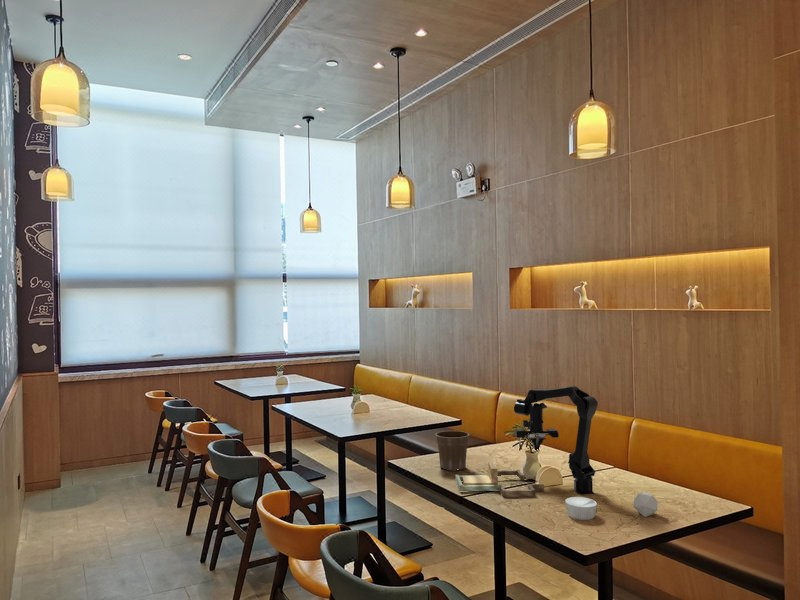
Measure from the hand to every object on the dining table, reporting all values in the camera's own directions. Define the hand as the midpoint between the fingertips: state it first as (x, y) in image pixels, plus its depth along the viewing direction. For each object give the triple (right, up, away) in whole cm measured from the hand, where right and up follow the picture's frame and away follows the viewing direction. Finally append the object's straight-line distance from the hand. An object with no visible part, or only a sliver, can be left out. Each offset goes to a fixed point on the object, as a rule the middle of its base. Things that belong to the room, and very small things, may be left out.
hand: (536, 452), depth 265 cm
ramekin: (+6, -12, -45) cm, 47 cm away
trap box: (-18, -12, -8) cm, 23 cm away
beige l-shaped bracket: (-26, -13, -8) cm, 30 cm away
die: (+30, -12, -44) cm, 55 cm away
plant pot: (-35, -13, +21) cm, 43 cm away
